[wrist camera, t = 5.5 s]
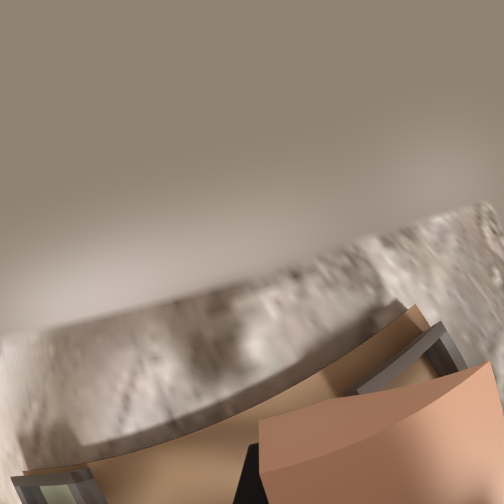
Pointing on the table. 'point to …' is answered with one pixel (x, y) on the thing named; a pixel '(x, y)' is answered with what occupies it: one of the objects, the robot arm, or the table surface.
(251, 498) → the robot arm
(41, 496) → the puzzle board
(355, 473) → the block
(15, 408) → the table surface
